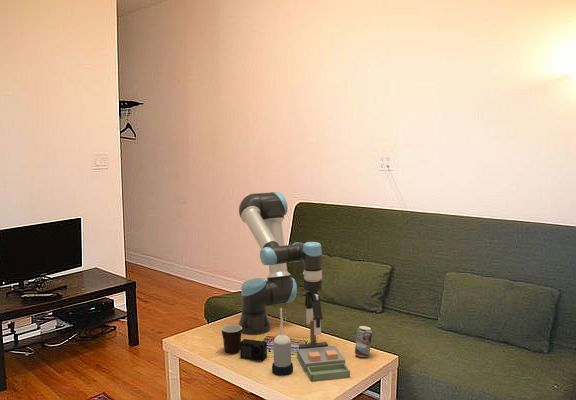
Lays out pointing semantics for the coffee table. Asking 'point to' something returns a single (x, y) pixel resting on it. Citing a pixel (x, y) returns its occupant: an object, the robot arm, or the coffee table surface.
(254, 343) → the digital camera
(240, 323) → the robot arm
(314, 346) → the scraper
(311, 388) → the coffee table surface
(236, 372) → the coffee table surface
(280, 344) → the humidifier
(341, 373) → the box
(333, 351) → the tile
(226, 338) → the coffee mug
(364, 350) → the beverage can
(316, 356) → the tile
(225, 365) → the coffee table surface
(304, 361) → the grey flat block
